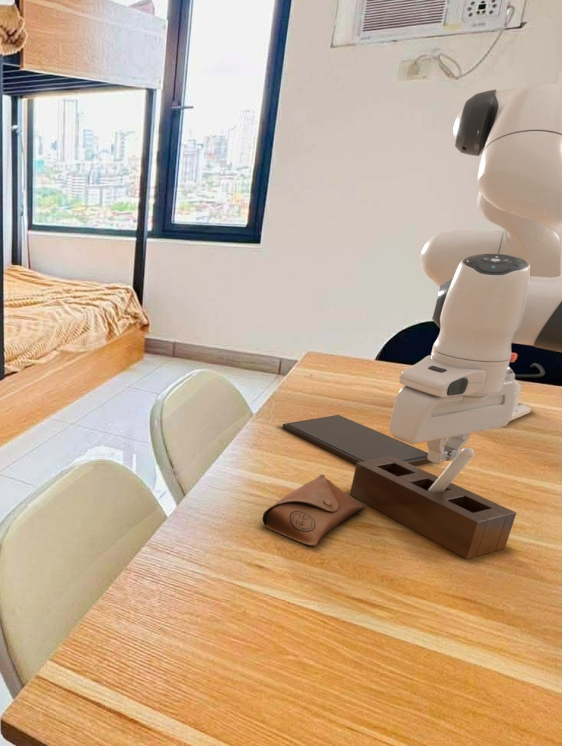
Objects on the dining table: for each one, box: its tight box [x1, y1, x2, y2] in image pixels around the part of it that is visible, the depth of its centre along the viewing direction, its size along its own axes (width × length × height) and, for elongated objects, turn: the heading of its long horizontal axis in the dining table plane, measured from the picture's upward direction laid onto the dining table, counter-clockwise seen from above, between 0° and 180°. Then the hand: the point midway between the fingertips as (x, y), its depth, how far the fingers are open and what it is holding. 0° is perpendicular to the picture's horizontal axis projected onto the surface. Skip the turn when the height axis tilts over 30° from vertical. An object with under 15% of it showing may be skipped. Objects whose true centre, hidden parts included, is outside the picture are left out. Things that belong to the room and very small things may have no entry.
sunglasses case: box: [262, 474, 366, 547], centre depth 98 cm, size 18×7×7 cm
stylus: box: [428, 447, 476, 494], centre depth 94 cm, size 2×2×15 cm
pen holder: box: [349, 456, 517, 560], centre depth 97 cm, size 8×19×6 cm, turn 18°
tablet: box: [281, 414, 432, 466], centre depth 124 cm, size 15×22×1 cm
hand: (441, 460), depth 94 cm, fingers closed
